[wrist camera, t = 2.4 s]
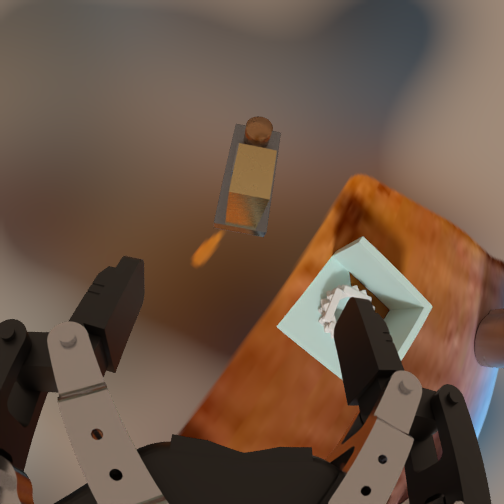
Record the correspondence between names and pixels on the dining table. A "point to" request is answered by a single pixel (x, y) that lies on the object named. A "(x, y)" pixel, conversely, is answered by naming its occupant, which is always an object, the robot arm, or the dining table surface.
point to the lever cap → (250, 185)
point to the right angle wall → (340, 291)
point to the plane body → (251, 134)
